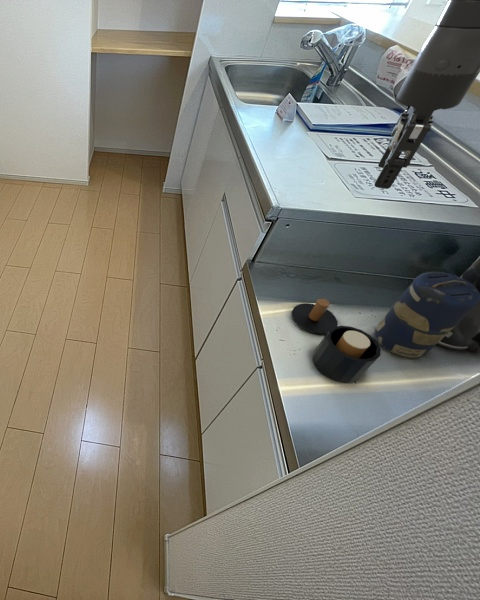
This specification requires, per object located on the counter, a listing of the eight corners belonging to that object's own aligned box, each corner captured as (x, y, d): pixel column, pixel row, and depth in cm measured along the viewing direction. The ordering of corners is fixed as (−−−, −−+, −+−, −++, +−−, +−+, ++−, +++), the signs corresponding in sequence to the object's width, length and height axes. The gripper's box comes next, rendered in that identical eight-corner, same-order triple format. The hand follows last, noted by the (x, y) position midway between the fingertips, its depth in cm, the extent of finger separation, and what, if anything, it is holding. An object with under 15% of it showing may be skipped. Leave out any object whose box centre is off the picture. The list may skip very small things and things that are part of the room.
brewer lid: (338, 315, 82) (350, 297, 78) (332, 342, 77) (345, 323, 72) (295, 301, 86) (304, 283, 82) (286, 325, 81) (296, 307, 76)
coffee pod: (351, 360, 72) (371, 336, 67) (348, 375, 70) (369, 351, 64) (327, 351, 74) (345, 327, 69) (324, 366, 72) (341, 342, 66)
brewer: (363, 359, 73) (382, 336, 68) (358, 390, 68) (379, 368, 63) (316, 342, 77) (331, 319, 72) (308, 370, 72) (324, 348, 67)
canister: (433, 363, 71) (502, 301, 58) (381, 357, 73) (437, 296, 60) (412, 328, 78) (470, 266, 65) (364, 324, 79) (411, 263, 67)
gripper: (487, 79, 42) (408, 200, 54) (477, 56, 50) (411, 165, 62) (411, 75, 46) (352, 189, 57) (413, 54, 54) (361, 158, 65)
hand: (383, 176), depth 59 cm, fingers open, 8 cm apart
